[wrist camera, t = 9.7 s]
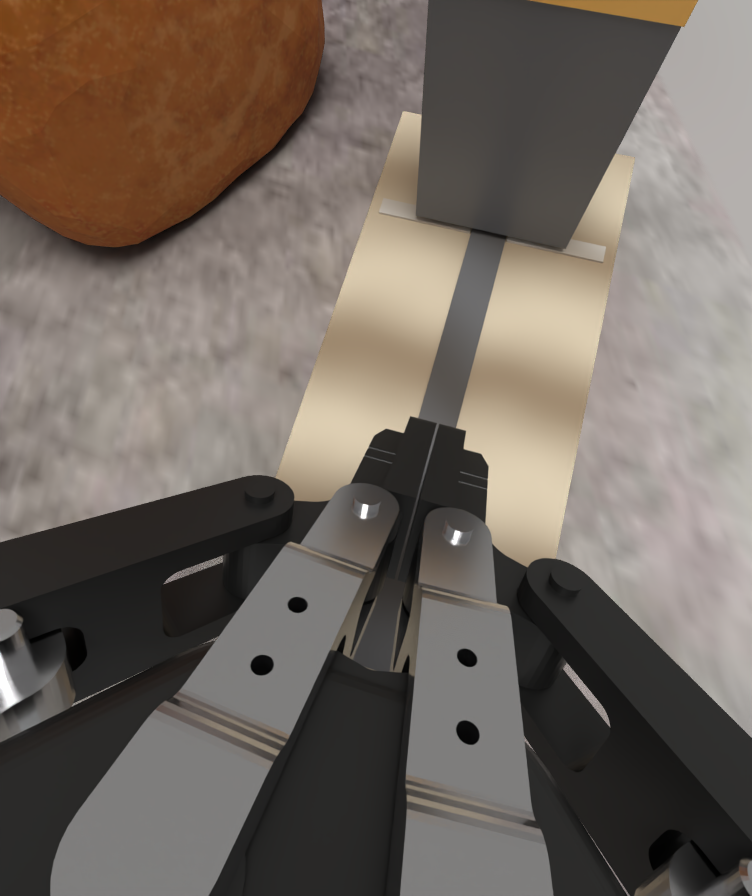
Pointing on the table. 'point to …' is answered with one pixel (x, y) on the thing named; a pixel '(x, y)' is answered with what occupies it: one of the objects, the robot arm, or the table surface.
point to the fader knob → (532, 106)
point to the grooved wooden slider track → (460, 359)
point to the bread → (145, 105)
